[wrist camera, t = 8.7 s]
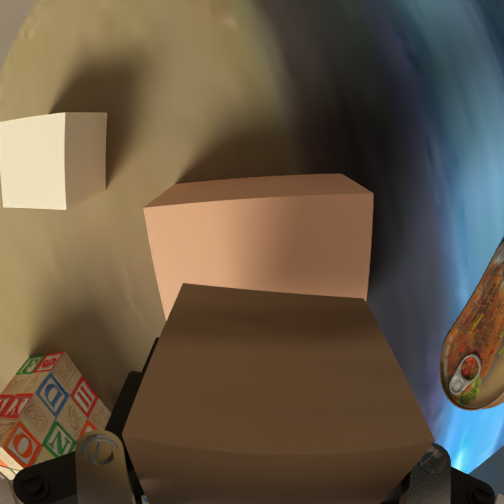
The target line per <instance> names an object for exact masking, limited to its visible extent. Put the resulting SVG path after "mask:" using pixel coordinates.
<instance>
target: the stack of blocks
mask: <svg viewBox="0 0 504 504" xmlns="http://www.w3.org/2000/svg"><path fill="white" fill-rule="evenodd" d="M110 416H111V413H110V411H109V410H108V409H107V408H106V407H105V405H104V404H103V403H102V402H101V400H100V399H99V398H98V396H97V395H96V393H95V392H94V391H93V390H92V388H91V387H90V386H89V384H88V383H87V382H86V380H85V379H84V378H83V376H82V375H81V373H80V372H79V370H78V369H77V368H76V366H75V365H74V363H73V362H72V360H71V359H70V358H69V356H68V355H67V353H66V352H65V351H63V352H58V353H52V354H46V355H43V356H37V357H31V358H28V359H27V360H26V362H25V363H24V364H23V365H22V367H21V368H20V369H19V371H18V372H17V373H16V375H15V376H14V377H13V379H12V380H11V381H10V382H9V384H8V385H7V386H6V388H5V389H4V390H3V392H2V393H1V395H0V471H1V472H2V473H4V475H6V476H7V477H8V478H9V479H10V480H12V479H14V477H15V475H16V474H17V473H18V472H19V471H20V470H22V469H24V468H26V467H29V466H32V465H35V464H39V463H42V462H45V461H48V460H51V459H53V458H56V457H59V456H62V455H65V454H68V453H70V452H73V451H75V447H76V443H77V441H78V439H79V438H80V437H81V436H82V435H83V434H85V433H87V432H89V431H92V430H105V427H106V425H107V423H108V420H109V418H110ZM143 500H144V504H149V502H148V500H147V498H146V495H143Z"/></svg>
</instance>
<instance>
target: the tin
mask: <svg viewBox="0 0 504 504" xmlns="http://www.w3.org/2000/svg"><path fill="white" fill-rule="evenodd" d="M439 370H440V380H441V384H442V388H443V391H444V393H445V395H446V396H447V398H448V399H449V400H450V402H452V403H453V404H454V405H455V406H457V407H458V408H460V409H463V410H470V411H473V410H479V409H487V408H492V407H495V406H497V405H499V404H501V403H503V402H504V241H503V242H502V244H501V245H500V246H499V247H498V249H497V250H496V252H495V253H494V255H493V257H492V259H491V261H490V263H489V265H488V267H487V269H486V271H485V273H484V275H483V276H482V278H481V280H480V282H479V284H478V286H477V287H476V289H475V291H474V293H473V294H472V296H471V298H470V300H469V301H468V303H467V305H466V306H465V308H464V309H463V311H462V313H461V314H460V316H459V317H458V319H457V320H456V322H455V324H454V325H453V327H452V328H451V330H450V332H449V333H448V335H447V337H446V340H445V342H444V345H443V348H442V352H441V357H440V368H439Z"/></svg>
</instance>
